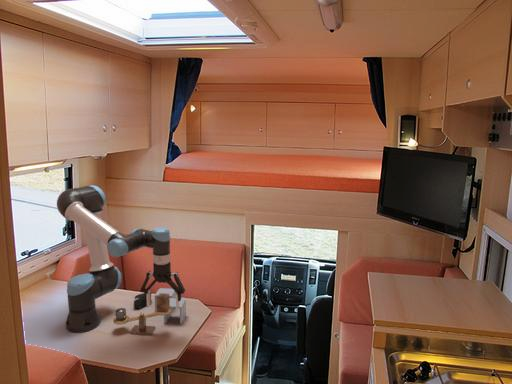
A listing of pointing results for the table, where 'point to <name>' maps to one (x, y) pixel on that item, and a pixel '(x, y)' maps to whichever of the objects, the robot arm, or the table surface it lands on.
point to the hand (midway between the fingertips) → (163, 306)
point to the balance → (142, 327)
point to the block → (163, 303)
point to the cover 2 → (181, 306)
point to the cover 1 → (165, 291)
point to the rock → (140, 300)
